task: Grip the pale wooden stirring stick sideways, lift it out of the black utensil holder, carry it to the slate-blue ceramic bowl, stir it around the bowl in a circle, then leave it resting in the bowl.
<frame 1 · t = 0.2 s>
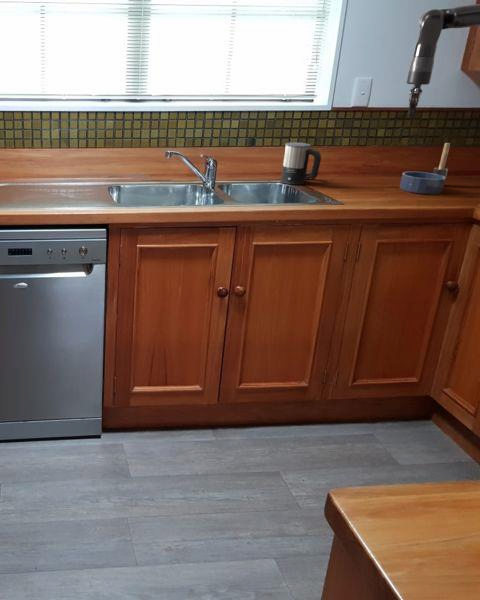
hand: (410, 116, 227), 26 cm above the table, tool pointing down, fingers open, 8 cm apart
bowl: (419, 191, 228), on the table
stick: (436, 185, 236), point 1 cm above the table, touching holder
milk frother: (298, 182, 240), on the table
holder: (436, 186, 236), on the table
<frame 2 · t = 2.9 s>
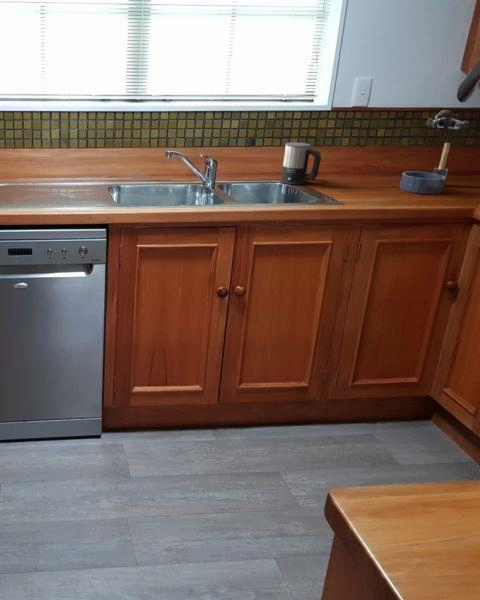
hand: (449, 126, 236), 22 cm above the table, tool horizontal, fingers open, 8 cm apart
nothing on the table moved.
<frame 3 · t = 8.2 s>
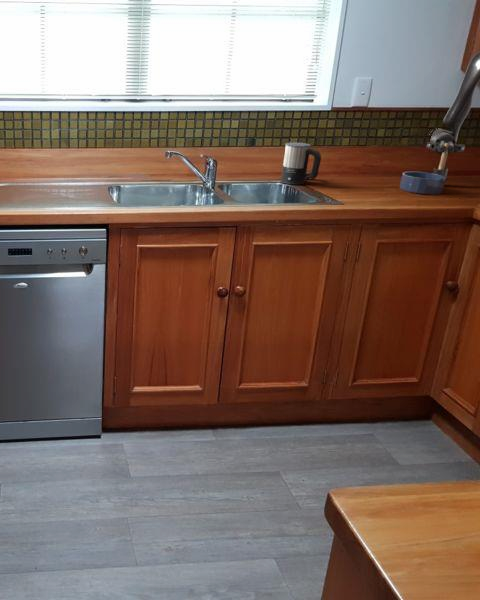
hand: (446, 149, 228), 15 cm above the table, tool horizontal, fingers closed on stick, 2 cm apart
stick: (436, 185, 236), point 1 cm above the table, touching gripper, holder
everything else where it was.
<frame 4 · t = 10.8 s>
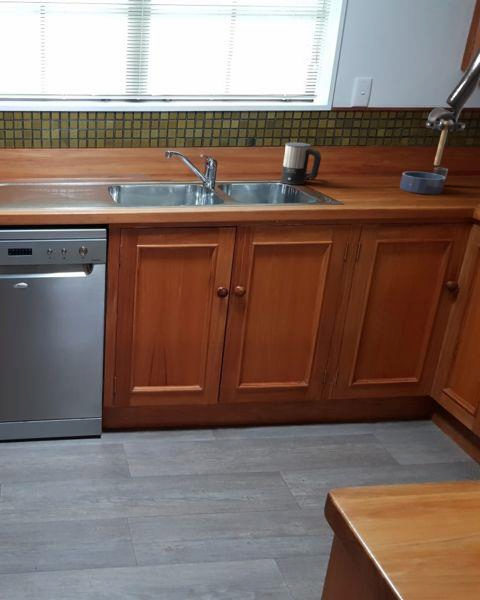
hand: (446, 127, 222), 23 cm above the table, tool horizontal, fingers closed on stick
stick: (436, 164, 230), point 9 cm above the table, touching gripper
everything else where it was.
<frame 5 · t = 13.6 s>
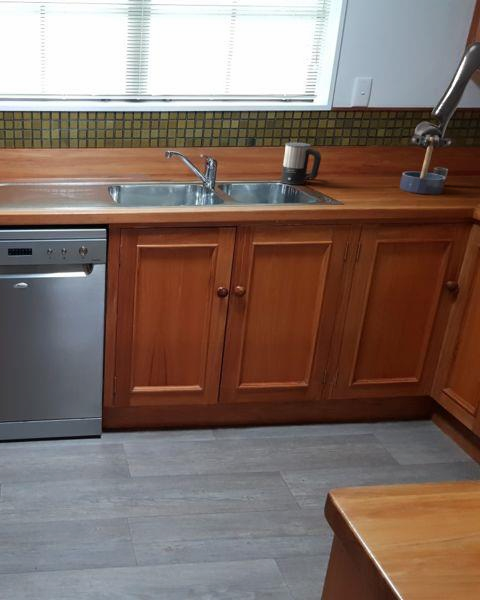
hand: (431, 143, 219), 18 cm above the table, tool horizontal, fingers closed on stick
stick: (421, 181, 227), point 4 cm above the table, touching gripper
everything else where it was.
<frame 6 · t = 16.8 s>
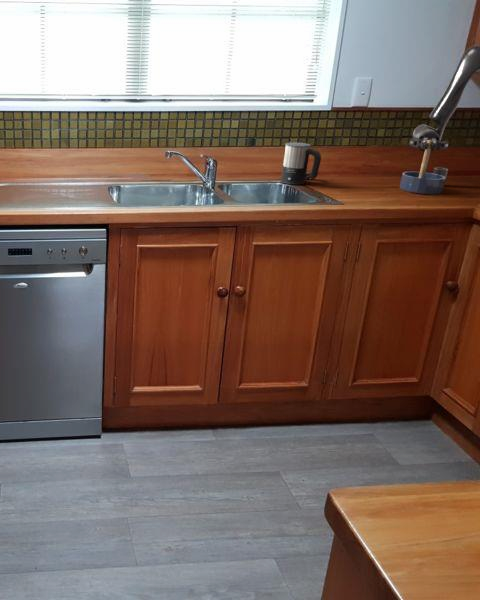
hand: (429, 146, 221), 16 cm above the table, tool horizontal, fingers closed on stick, 2 cm apart
stick: (419, 183, 229), point 2 cm above the table, touching gripper
everything else where it was.
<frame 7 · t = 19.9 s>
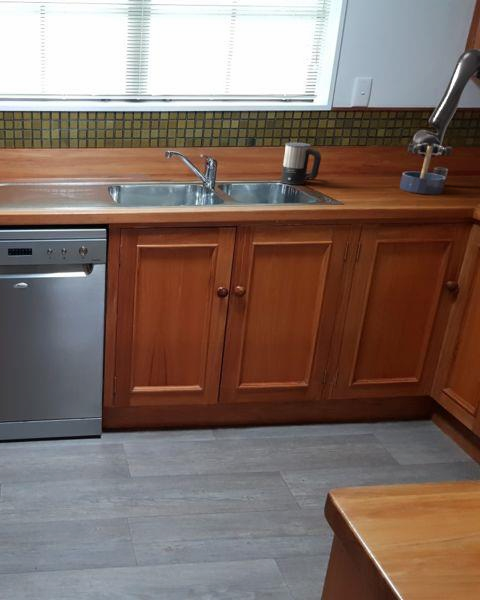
hand: (429, 152, 221), 15 cm above the table, tool horizontal, fingers open, 8 cm apart
stick: (419, 189, 228), point 1 cm above the table, touching bowl
everything else where it was.
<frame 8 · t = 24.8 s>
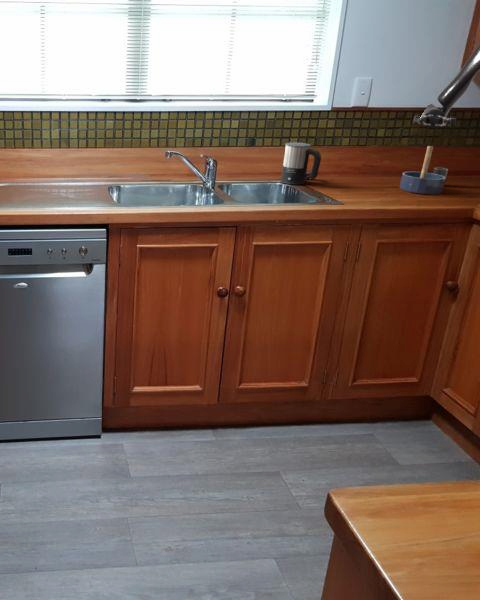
hand: (434, 122, 228), 24 cm above the table, tool horizontal, fingers open, 8 cm apart
nothing on the table moved.
at the end: stick inside the target area in the bowl (0.1 cm from its centre), point 0.6 cm above the bowl's base; stick moved 14.3 cm from its start; the gripper is holding nothing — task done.
